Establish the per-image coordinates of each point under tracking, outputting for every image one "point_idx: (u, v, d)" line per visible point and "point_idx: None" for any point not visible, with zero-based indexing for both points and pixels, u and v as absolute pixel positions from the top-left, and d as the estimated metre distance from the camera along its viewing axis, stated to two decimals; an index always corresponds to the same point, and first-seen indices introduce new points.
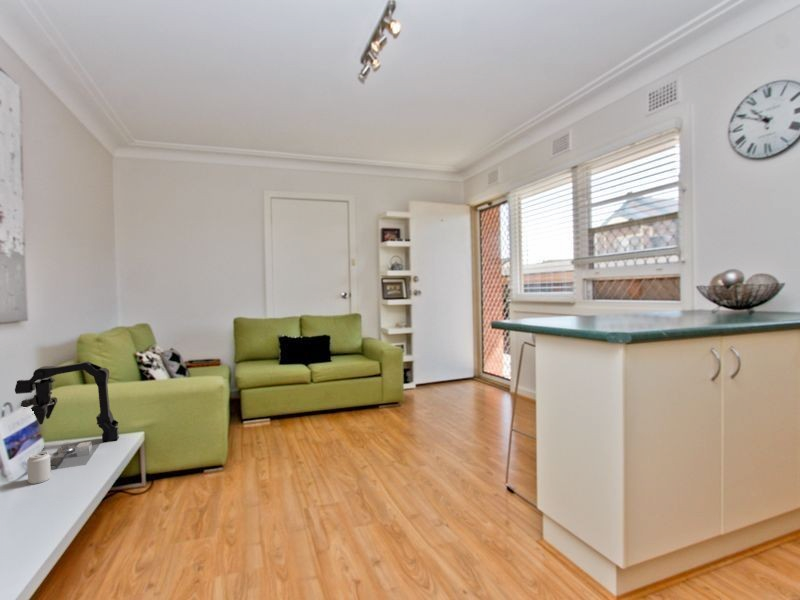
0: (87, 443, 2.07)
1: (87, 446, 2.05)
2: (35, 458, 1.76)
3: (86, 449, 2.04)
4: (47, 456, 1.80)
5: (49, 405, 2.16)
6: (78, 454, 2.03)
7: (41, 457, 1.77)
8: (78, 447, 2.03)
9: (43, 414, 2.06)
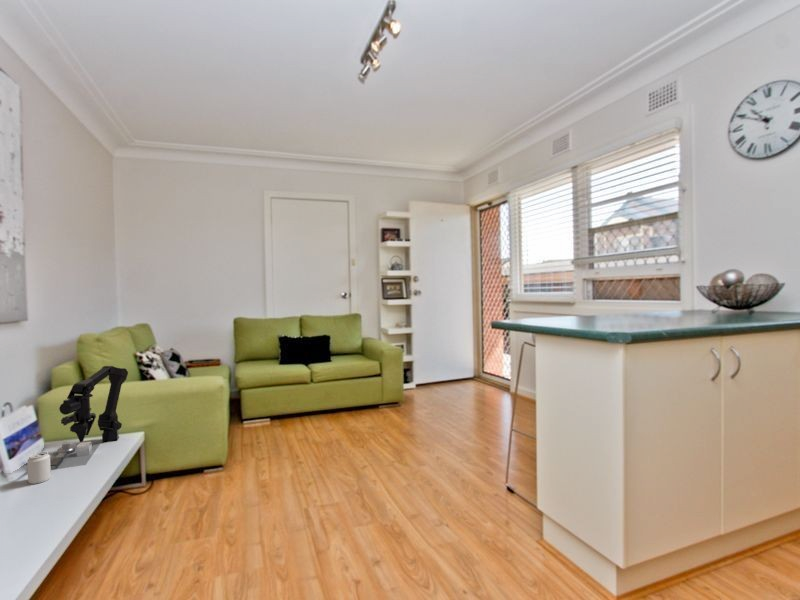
0: (87, 443, 2.07)
1: (87, 446, 2.05)
2: (35, 458, 1.76)
3: (86, 449, 2.04)
4: (47, 456, 1.79)
5: (88, 421, 2.11)
6: (78, 454, 2.03)
7: (41, 457, 1.77)
8: (78, 447, 2.03)
9: (84, 431, 2.01)
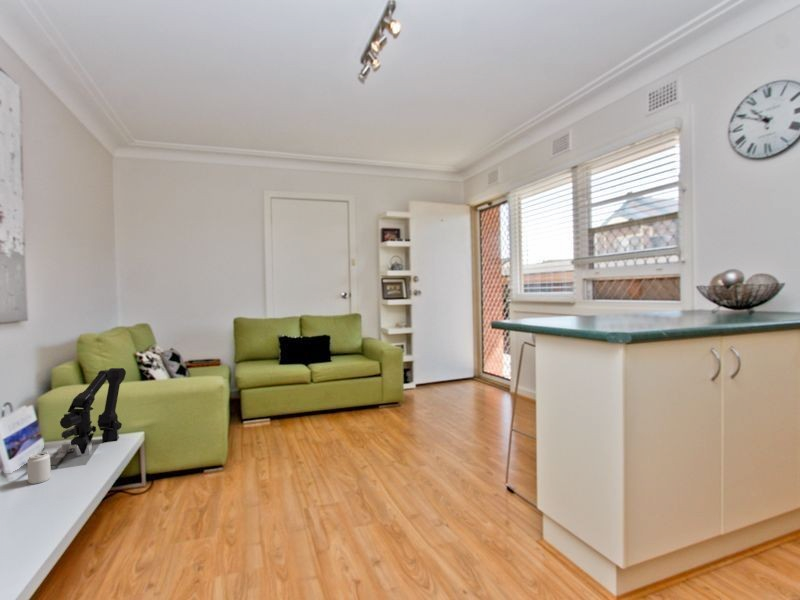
0: None
1: (87, 446, 2.05)
2: (35, 458, 1.76)
3: (86, 449, 2.04)
4: (47, 456, 1.79)
5: (87, 436, 2.09)
6: (78, 454, 2.03)
7: (41, 457, 1.77)
8: (78, 447, 2.03)
9: (85, 443, 2.03)
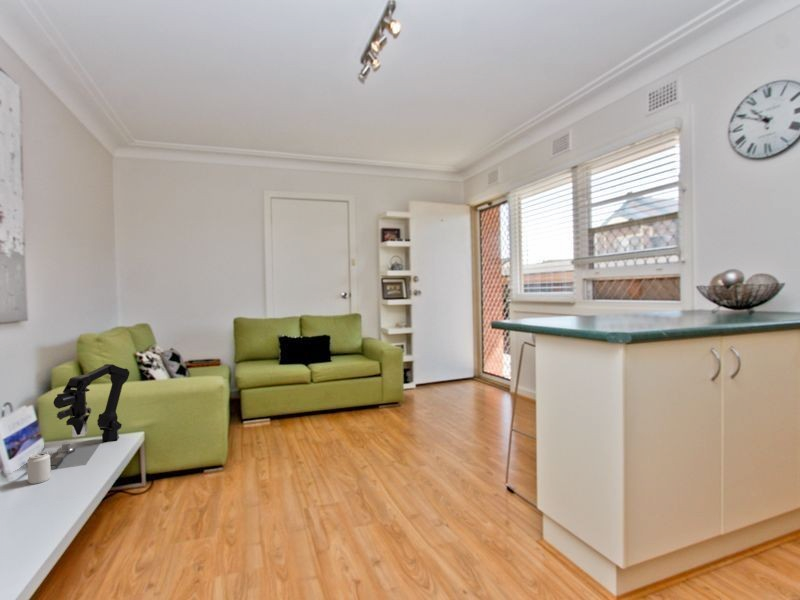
0: None
1: (83, 427, 2.04)
2: (35, 458, 1.76)
3: (82, 430, 2.04)
4: (47, 456, 1.80)
5: (83, 417, 2.09)
6: (74, 435, 2.03)
7: (41, 457, 1.77)
8: None
9: (81, 424, 2.02)
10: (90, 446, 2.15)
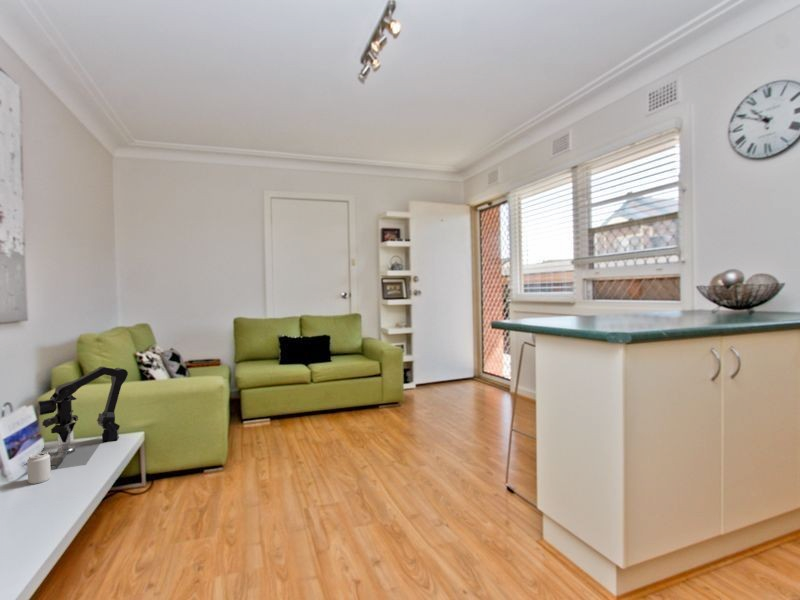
0: None
1: (68, 435, 2.06)
2: (35, 458, 1.76)
3: (67, 438, 2.06)
4: (47, 456, 1.79)
5: (69, 424, 2.11)
6: (59, 442, 2.05)
7: (41, 457, 1.77)
8: (59, 435, 2.05)
9: (66, 432, 2.04)
10: (90, 446, 2.15)
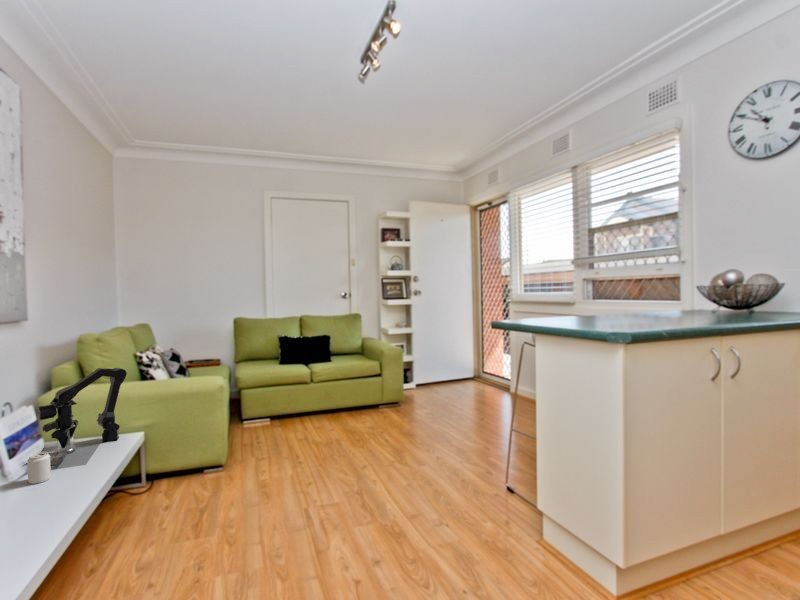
0: (69, 438, 2.08)
1: (68, 441, 2.06)
2: (35, 458, 1.76)
3: (67, 444, 2.06)
4: (47, 456, 1.80)
5: (70, 428, 2.12)
6: (59, 448, 2.05)
7: (41, 457, 1.77)
8: None
9: (66, 438, 2.03)
10: (90, 446, 2.15)
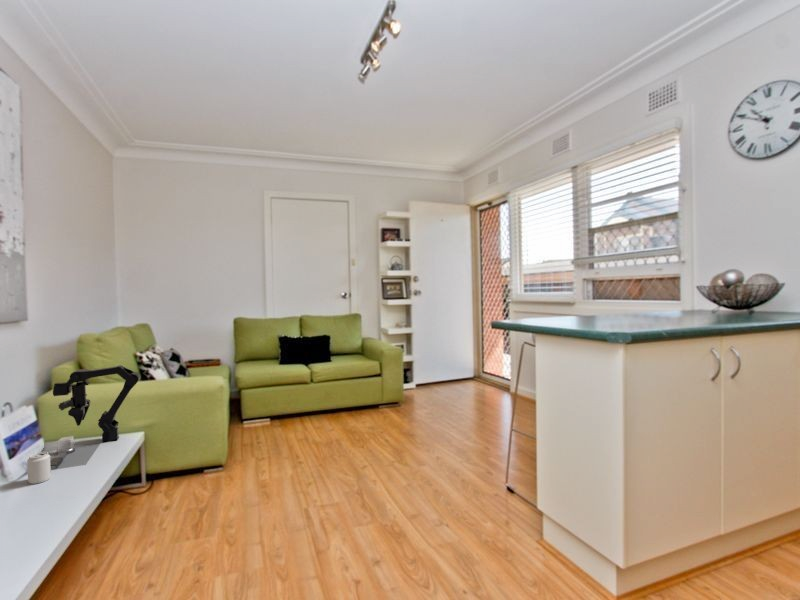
0: (69, 438, 2.08)
1: (68, 441, 2.06)
2: (35, 458, 1.76)
3: (67, 444, 2.06)
4: (47, 456, 1.79)
5: (83, 407, 2.23)
6: (59, 448, 2.05)
7: (41, 457, 1.77)
8: (59, 442, 2.05)
9: (81, 415, 2.13)
10: (90, 446, 2.15)
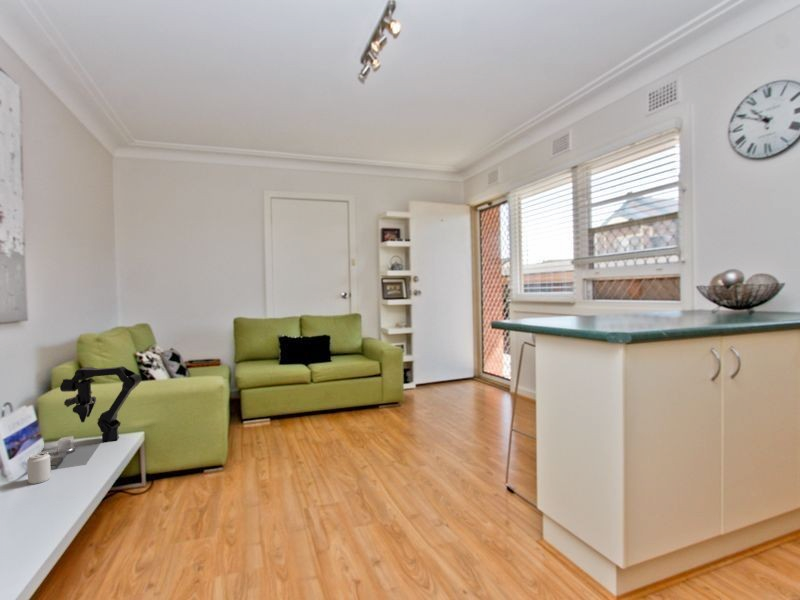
0: (69, 438, 2.08)
1: (68, 441, 2.06)
2: (35, 458, 1.76)
3: (67, 444, 2.06)
4: (47, 456, 1.80)
5: (89, 404, 2.27)
6: (59, 448, 2.05)
7: (41, 457, 1.77)
8: (59, 442, 2.05)
9: (85, 412, 2.17)
10: (90, 446, 2.15)
